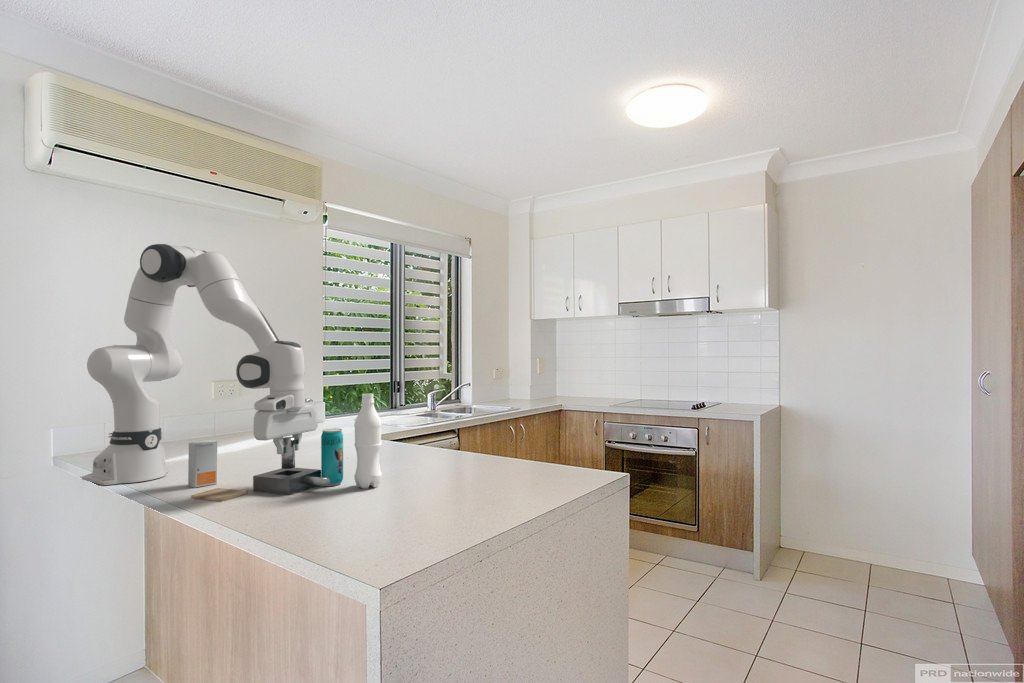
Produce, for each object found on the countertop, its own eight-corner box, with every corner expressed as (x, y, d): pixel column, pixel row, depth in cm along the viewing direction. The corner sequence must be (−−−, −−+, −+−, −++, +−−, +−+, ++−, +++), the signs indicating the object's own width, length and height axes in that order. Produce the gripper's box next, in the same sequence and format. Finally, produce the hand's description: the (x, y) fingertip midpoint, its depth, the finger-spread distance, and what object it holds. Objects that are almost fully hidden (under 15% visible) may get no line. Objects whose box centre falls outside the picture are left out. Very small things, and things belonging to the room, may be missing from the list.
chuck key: (274, 468, 148) (274, 438, 149) (284, 465, 152) (283, 436, 152) (292, 469, 146) (292, 439, 146) (301, 466, 150) (301, 437, 150)
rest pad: (191, 497, 140) (191, 495, 140) (218, 490, 147) (218, 487, 147) (221, 501, 136) (221, 498, 136) (247, 493, 144) (247, 490, 144)
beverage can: (336, 487, 149) (336, 431, 149) (317, 486, 150) (317, 431, 150) (347, 482, 155) (346, 428, 155) (328, 481, 156) (328, 428, 156)
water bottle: (385, 483, 153) (385, 392, 153) (376, 490, 146) (376, 394, 146) (360, 483, 153) (359, 392, 154) (350, 489, 146) (349, 395, 147)
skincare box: (194, 488, 149) (194, 443, 150) (187, 486, 152) (187, 442, 152) (217, 483, 154) (217, 440, 154) (210, 481, 157) (210, 439, 157)
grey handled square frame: (253, 491, 145) (253, 476, 146) (286, 481, 157) (286, 466, 157) (311, 497, 139) (311, 481, 139) (342, 486, 150) (342, 471, 150)
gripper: (305, 397, 160) (305, 445, 160) (248, 404, 141) (249, 458, 141) (322, 397, 158) (323, 446, 158) (268, 404, 139) (268, 460, 139)
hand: (287, 452), depth 149 cm, fingers closed on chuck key, 3 cm apart
